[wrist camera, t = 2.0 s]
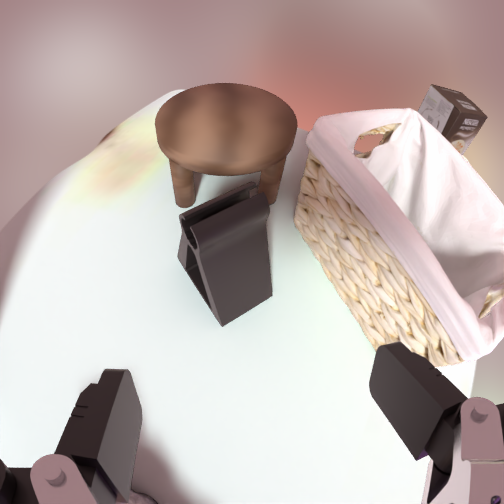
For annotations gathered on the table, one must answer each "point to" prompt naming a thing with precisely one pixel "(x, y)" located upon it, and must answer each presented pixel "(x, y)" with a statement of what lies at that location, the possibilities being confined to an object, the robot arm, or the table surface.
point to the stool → (225, 136)
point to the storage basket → (405, 234)
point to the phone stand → (228, 252)
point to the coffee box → (452, 116)
